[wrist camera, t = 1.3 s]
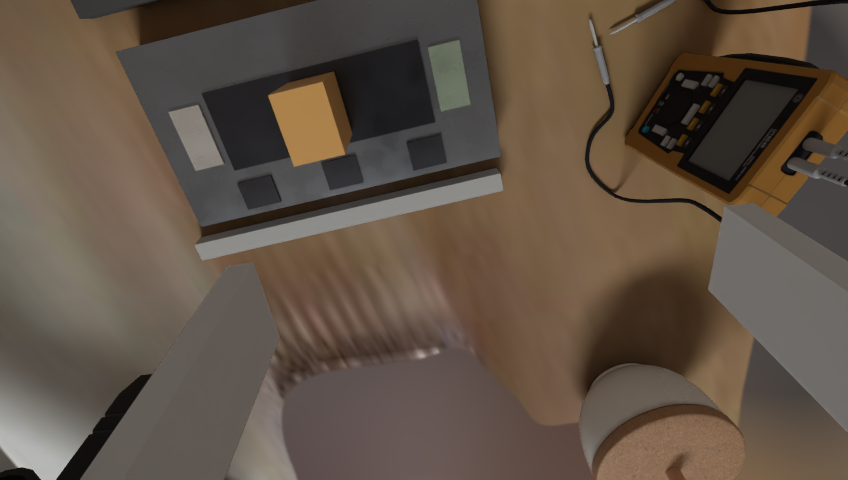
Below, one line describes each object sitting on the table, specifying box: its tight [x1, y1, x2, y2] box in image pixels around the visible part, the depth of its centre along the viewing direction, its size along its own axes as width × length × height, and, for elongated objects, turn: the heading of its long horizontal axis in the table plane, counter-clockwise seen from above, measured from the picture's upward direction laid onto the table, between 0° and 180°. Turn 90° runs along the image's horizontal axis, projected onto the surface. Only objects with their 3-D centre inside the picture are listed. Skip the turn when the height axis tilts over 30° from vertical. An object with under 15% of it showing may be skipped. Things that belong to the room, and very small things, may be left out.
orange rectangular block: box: [268, 71, 352, 167], centre depth 27 cm, size 3×4×5 cm
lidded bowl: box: [579, 363, 746, 480], centre depth 42 cm, size 13×13×11 cm
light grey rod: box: [195, 168, 503, 260], centre depth 36 cm, size 24×1×1 cm, turn 103°
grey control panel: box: [116, 0, 501, 227], centre depth 31 cm, size 22×12×3 cm, turn 103°
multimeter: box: [585, 0, 848, 222], centre depth 25 cm, size 15×10×20 cm
